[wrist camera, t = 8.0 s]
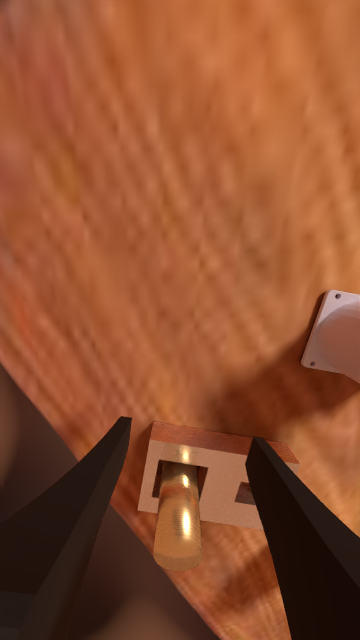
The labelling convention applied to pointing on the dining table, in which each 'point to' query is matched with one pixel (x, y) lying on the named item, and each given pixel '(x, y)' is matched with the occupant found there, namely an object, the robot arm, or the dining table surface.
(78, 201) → the dining table surface
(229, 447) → the plate
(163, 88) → the dining table surface
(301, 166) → the dining table surface
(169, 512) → the brass fitting
